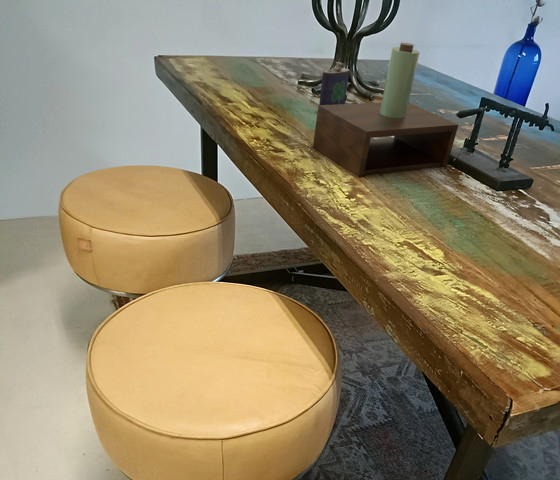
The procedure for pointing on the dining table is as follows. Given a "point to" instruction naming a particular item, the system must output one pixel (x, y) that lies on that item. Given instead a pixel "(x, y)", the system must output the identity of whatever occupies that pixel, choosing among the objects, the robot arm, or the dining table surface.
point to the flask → (334, 85)
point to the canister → (399, 81)
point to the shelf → (382, 152)
